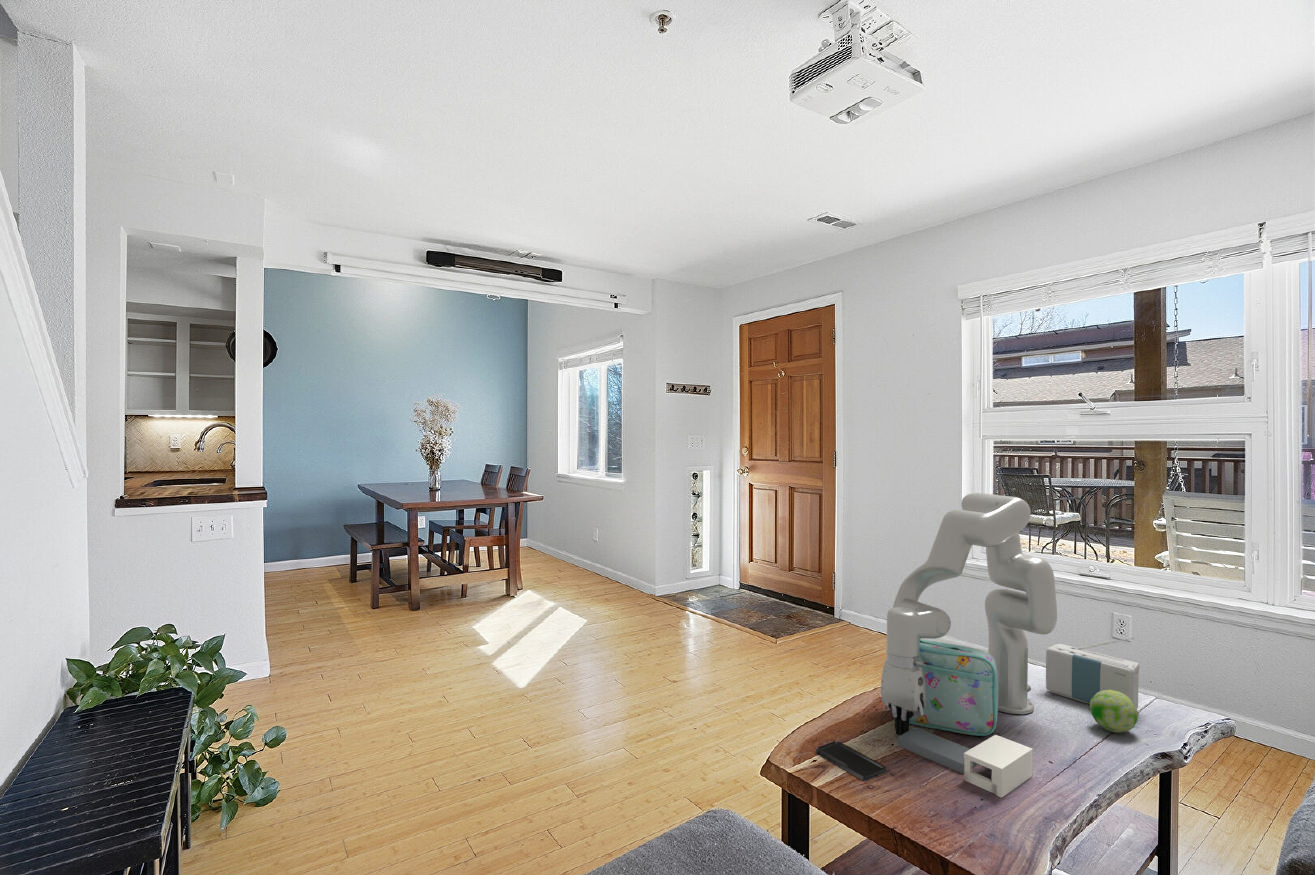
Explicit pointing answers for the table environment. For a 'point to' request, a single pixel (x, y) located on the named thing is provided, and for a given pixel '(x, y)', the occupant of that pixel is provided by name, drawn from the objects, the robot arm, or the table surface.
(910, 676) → the robot arm
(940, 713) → the lunch box
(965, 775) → the white hollow box
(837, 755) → the phone
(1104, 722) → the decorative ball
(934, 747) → the slate board
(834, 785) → the table surface
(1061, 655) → the stereo radio cassette player
